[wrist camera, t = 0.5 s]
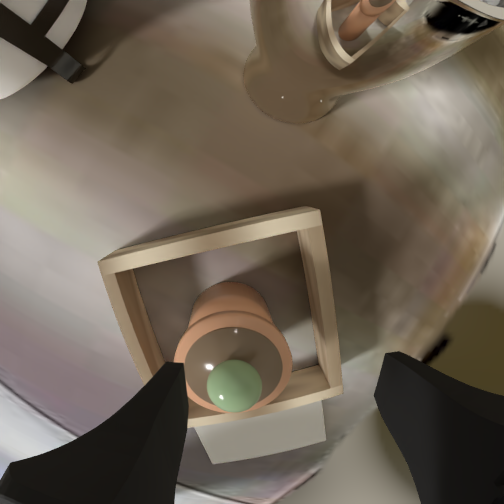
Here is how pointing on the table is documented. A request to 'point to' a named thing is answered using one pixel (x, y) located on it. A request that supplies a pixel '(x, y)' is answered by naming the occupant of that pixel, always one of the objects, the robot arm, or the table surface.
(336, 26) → the silver drink can
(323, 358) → the frame
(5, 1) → the coffee press
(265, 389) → the terracotta pot
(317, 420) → the grey mat
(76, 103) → the table surface
